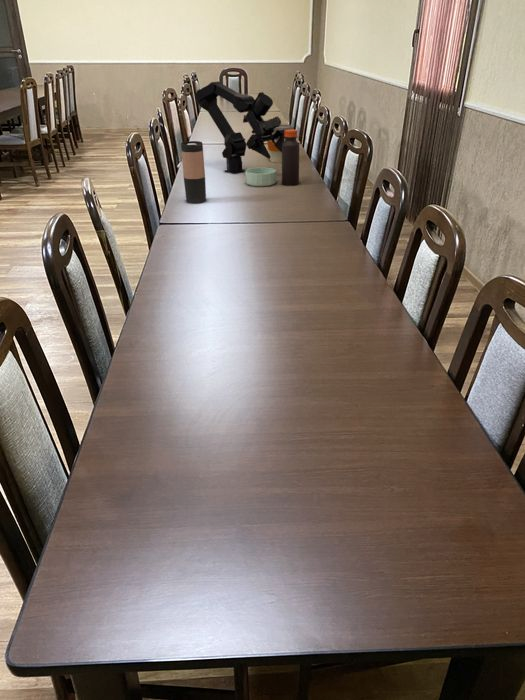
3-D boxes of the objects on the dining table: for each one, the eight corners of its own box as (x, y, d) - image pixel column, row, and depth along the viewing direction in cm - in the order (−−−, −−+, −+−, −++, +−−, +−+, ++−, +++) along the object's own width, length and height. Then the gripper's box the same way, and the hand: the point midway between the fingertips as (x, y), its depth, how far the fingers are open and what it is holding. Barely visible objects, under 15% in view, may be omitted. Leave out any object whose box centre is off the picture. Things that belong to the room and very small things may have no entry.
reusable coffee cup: (267, 157, 260) (267, 124, 253) (293, 157, 259) (294, 124, 252) (265, 163, 250) (264, 128, 242) (292, 163, 248) (292, 128, 241)
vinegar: (279, 185, 214) (279, 131, 203) (285, 181, 219) (285, 128, 209) (295, 186, 211) (296, 132, 201) (301, 182, 217) (301, 129, 207)
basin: (239, 184, 216) (239, 171, 214) (259, 178, 224) (259, 166, 221) (262, 188, 209) (262, 175, 207) (282, 182, 217) (282, 169, 214)
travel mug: (186, 198, 199) (181, 141, 188) (206, 197, 199) (202, 140, 189) (185, 204, 192) (179, 145, 182) (206, 203, 193) (202, 144, 182)
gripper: (250, 112, 204) (271, 146, 203) (284, 107, 215) (304, 139, 214) (237, 132, 213) (257, 165, 212) (270, 126, 224) (289, 157, 223)
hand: (277, 156), depth 215 cm, fingers open, 9 cm apart
